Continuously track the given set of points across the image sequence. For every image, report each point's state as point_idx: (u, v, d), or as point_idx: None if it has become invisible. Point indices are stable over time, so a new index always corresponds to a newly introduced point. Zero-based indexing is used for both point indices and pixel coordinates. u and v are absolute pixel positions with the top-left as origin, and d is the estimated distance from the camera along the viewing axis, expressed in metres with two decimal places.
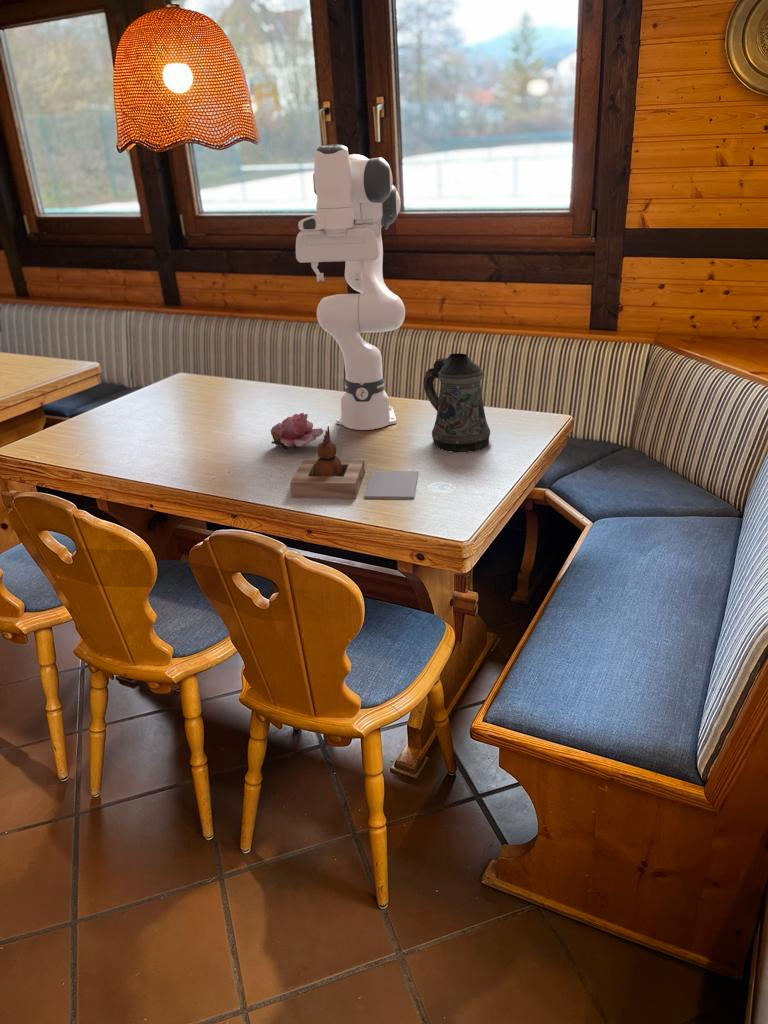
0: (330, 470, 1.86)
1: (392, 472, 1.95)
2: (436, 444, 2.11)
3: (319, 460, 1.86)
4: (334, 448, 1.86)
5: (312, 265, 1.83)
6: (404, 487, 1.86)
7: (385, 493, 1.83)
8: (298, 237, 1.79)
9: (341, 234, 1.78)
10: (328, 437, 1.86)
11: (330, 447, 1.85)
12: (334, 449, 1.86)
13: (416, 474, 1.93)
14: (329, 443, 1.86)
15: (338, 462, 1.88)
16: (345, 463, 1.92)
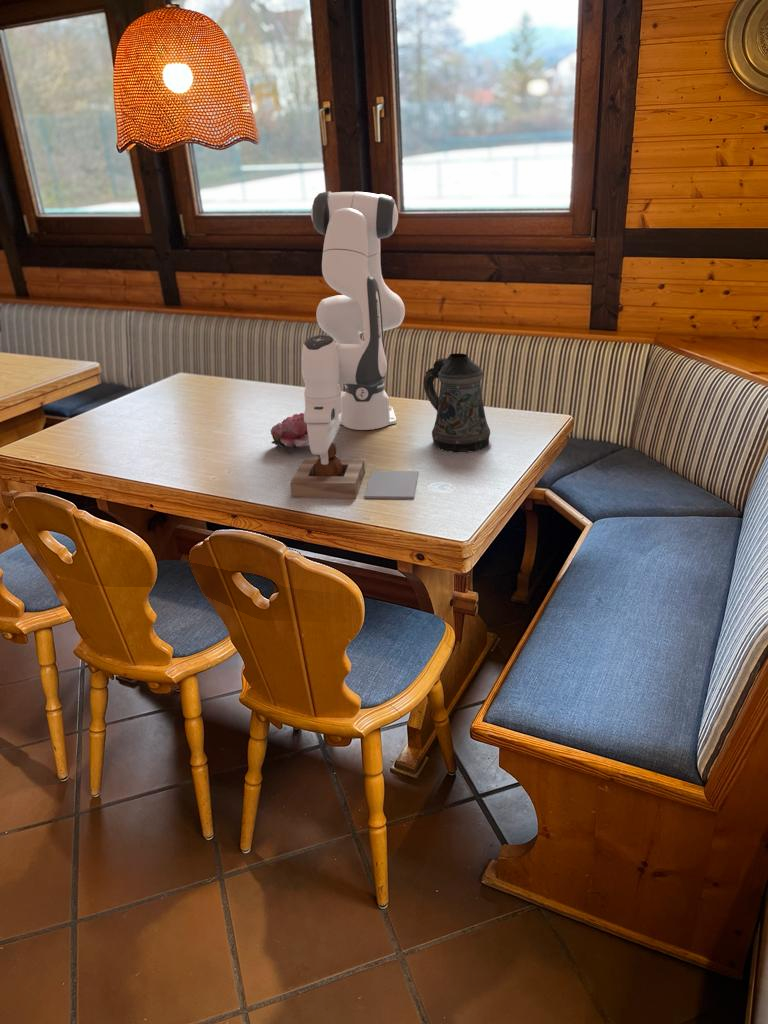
0: (330, 470, 1.86)
1: (392, 472, 1.95)
2: (436, 444, 2.11)
3: (319, 460, 1.86)
4: (334, 448, 1.86)
5: (327, 450, 1.82)
6: (404, 487, 1.86)
7: (385, 493, 1.83)
8: (327, 430, 1.75)
9: None
10: None
11: (330, 447, 1.85)
12: (334, 449, 1.86)
13: (416, 474, 1.93)
14: None
15: (338, 462, 1.88)
16: (345, 463, 1.92)
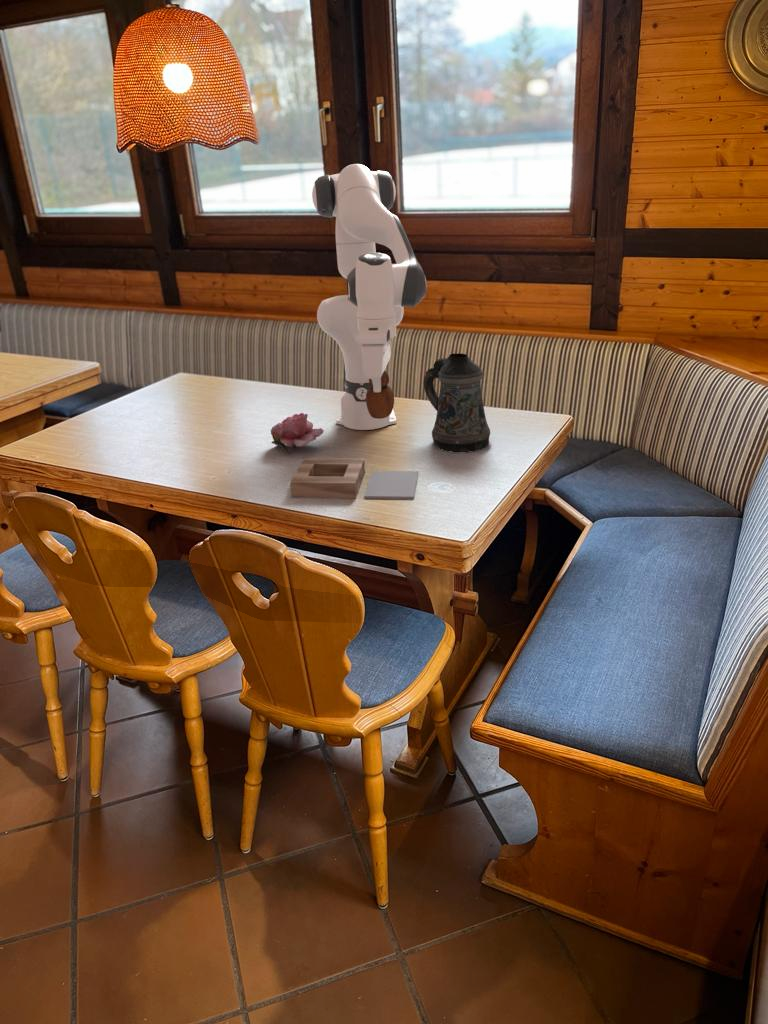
0: (383, 399, 1.76)
1: (392, 472, 1.95)
2: (436, 444, 2.11)
3: (371, 389, 1.77)
4: (387, 376, 1.76)
5: None
6: (404, 487, 1.86)
7: (385, 493, 1.83)
8: (383, 352, 1.66)
9: None
10: None
11: (382, 374, 1.75)
12: (387, 377, 1.76)
13: (416, 474, 1.93)
14: None
15: (390, 391, 1.78)
16: (345, 463, 1.92)
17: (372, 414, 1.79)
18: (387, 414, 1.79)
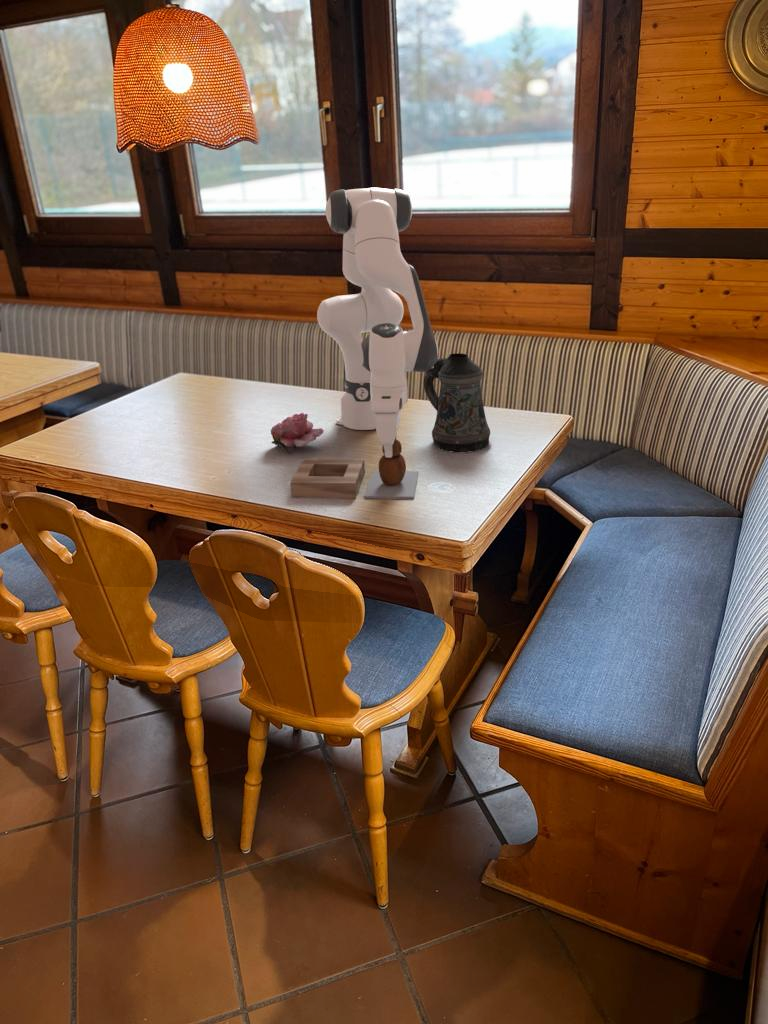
0: (395, 468, 1.84)
1: None
2: (436, 444, 2.11)
3: (384, 457, 1.84)
4: (399, 446, 1.83)
5: None
6: (404, 487, 1.86)
7: (385, 493, 1.83)
8: (395, 420, 1.72)
9: None
10: None
11: (395, 444, 1.82)
12: (399, 447, 1.83)
13: (416, 474, 1.93)
14: (394, 441, 1.84)
15: (402, 460, 1.85)
16: (345, 463, 1.92)
17: (384, 481, 1.86)
18: (399, 481, 1.87)
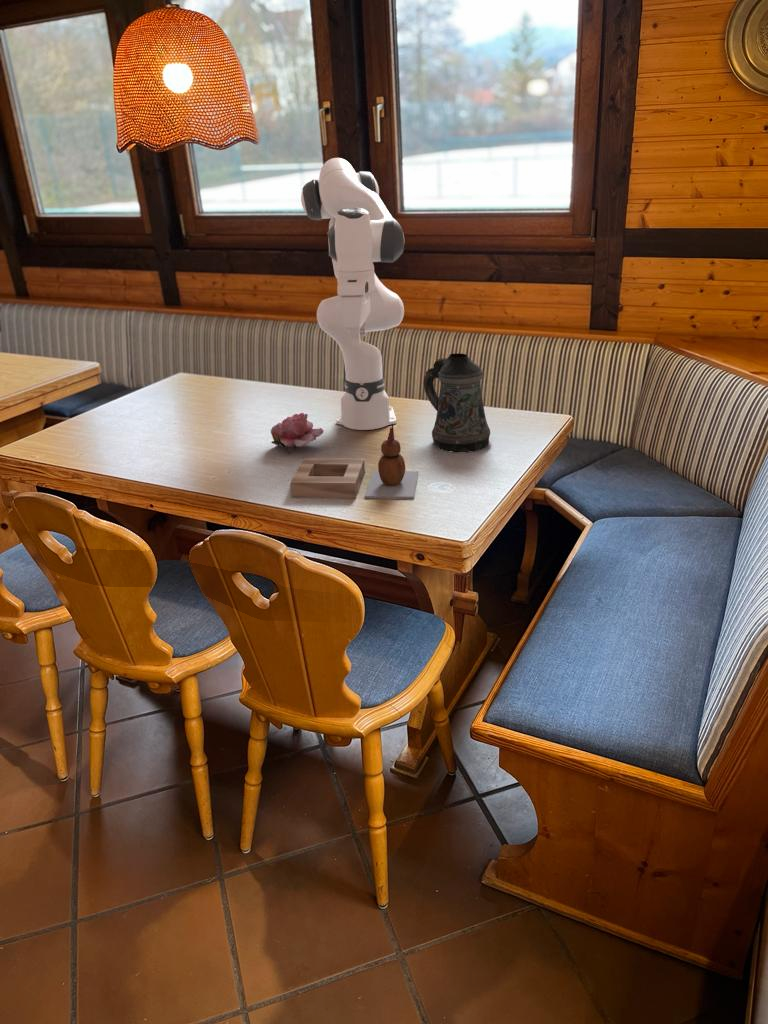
0: (395, 468, 1.84)
1: None
2: (436, 444, 2.11)
3: (383, 458, 1.84)
4: (398, 446, 1.84)
5: (358, 330, 1.77)
6: (404, 487, 1.86)
7: (385, 493, 1.83)
8: (361, 303, 1.71)
9: None
10: (392, 435, 1.84)
11: (394, 444, 1.83)
12: (398, 447, 1.84)
13: (416, 474, 1.93)
14: (393, 441, 1.84)
15: (402, 460, 1.85)
16: (345, 463, 1.92)
17: (384, 481, 1.86)
18: (398, 481, 1.87)
